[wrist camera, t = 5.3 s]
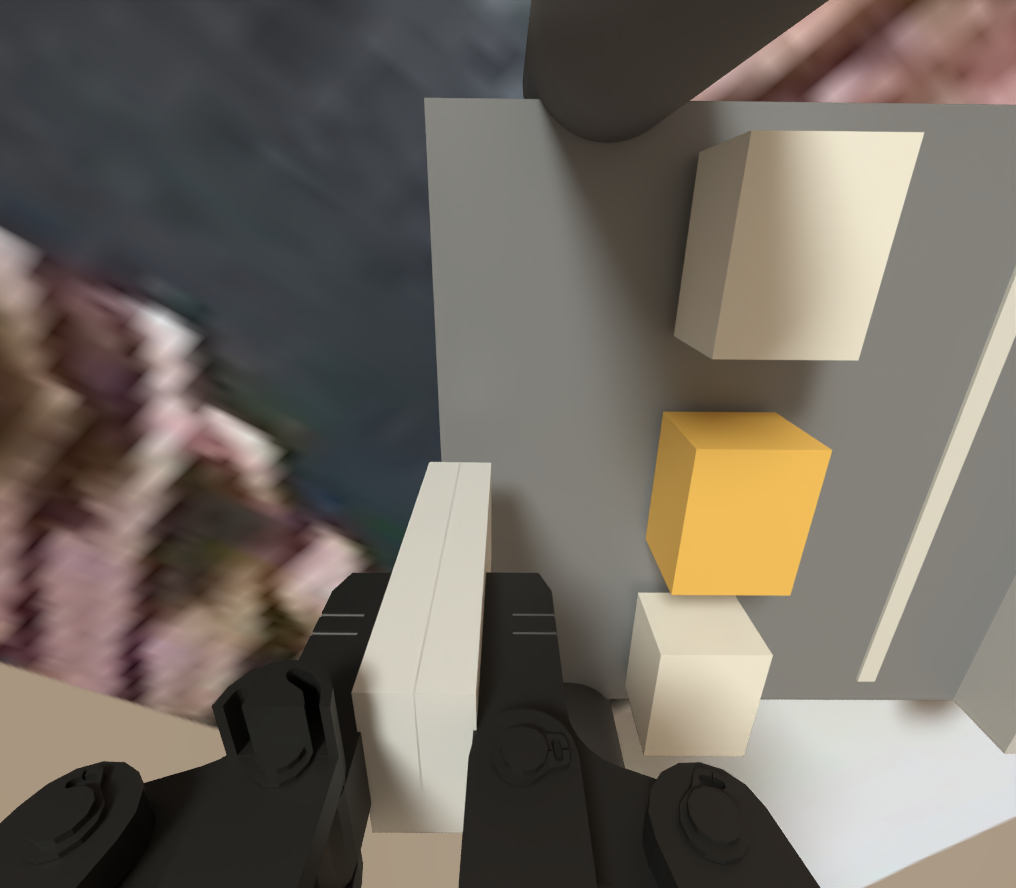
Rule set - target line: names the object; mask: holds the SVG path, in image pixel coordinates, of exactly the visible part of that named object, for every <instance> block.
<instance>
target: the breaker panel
mask: <svg viewBox="0 0 1016 888" xmlns="http://www.w3.org/2000/svg"><path fill="white" fill-rule="evenodd" d="M424 103H425V124H426V145H427V166H428V187H429V208H430V229H431V250H432V271H433V291H434V312H435V333H436V354H437V375H438V396H439V417H440V438H441V459H442V462H478V463H491V572H500V573H539V574H540V576H541V577H542V578H543V580H544V581H545V582H546V584H547V585H548V587H549V588H550V589H551V591H552V597H553V605H554V615H555V620H556V628H557V636H558V644H559V652H560V660H561V668H562V676H563V683H577V684H582V685H585V686H588V687H591V688H593V689H595V690H597V691H598V692H599V693H601V694H602V695H603V696H604V697H605V698H606V699H628V695H627V691H626V687H625V683H626V676H627V668H628V661H629V654H630V647H631V640H632V632H633V625H634V618H635V611H636V604H637V597H638V593H670V591H669V589H668V587H667V584H666V582H665V580H664V578H663V576H662V573H661V571H660V569H659V567H658V565H657V563H656V560H655V558H654V556H653V554H652V552H651V549H650V547H649V545H648V543H647V541H646V532H647V525H648V517H649V510H650V503H651V496H652V489H653V482H654V474H655V467H656V460H657V453H658V446H659V438H660V431H661V424H662V417H663V412H776V413H777V414H779V415H780V416H782V417H783V418H785V419H786V420H788V421H789V422H791V423H792V424H794V425H795V426H797V427H798V428H800V429H801V430H803V431H804V432H806V433H807V434H809V435H810V436H812V437H813V438H815V439H816V440H818V441H819V442H821V443H822V444H824V445H825V446H827V447H828V448H830V449H831V450H832V453H831V457H830V460H829V464H828V467H827V470H826V474H825V477H824V481H823V484H822V488H821V491H820V495H819V498H818V502H817V505H816V508H815V512H814V515H813V519H812V522H811V526H810V529H809V533H808V536H807V540H806V543H805V546H804V550H803V553H802V557H801V560H800V564H799V567H798V571H797V574H796V578H795V581H794V584H793V588H792V591H791V595H790V596H774V595H735V596H736V598H737V599H738V601H739V603H740V604H741V606H742V607H743V609H744V611H745V612H746V614H747V615H748V617H749V618H750V620H751V622H752V623H753V625H754V626H755V628H756V629H757V631H758V633H759V634H760V636H761V637H762V639H763V641H764V642H765V644H766V645H767V647H768V648H769V650H770V652H771V653H772V655H773V657H772V660H771V664H770V667H769V671H768V674H767V678H766V681H765V685H764V688H763V691H762V695H761V698H760V699H795V700H953V701H954V702H955V703H956V704H957V705H958V706H959V707H960V708H961V709H962V710H963V711H964V712H965V713H966V714H967V715H968V716H969V717H970V718H971V719H972V720H973V722H974V723H975V724H976V725H977V726H978V727H979V728H980V729H981V730H982V731H983V732H984V733H985V734H986V735H987V736H988V737H989V738H990V739H991V740H992V741H993V742H994V743H995V744H996V746H997V747H998V748H999V749H1000V750H1001V751H1002V752H1003V753H1004V754H1016V105H986V104H902V103H818V102H734V101H688V102H687V103H686V104H684V105H683V106H682V107H680V108H679V109H677V110H676V111H675V112H673V113H672V114H670V115H669V116H668V117H666V118H665V119H664V120H662V121H661V122H659V123H658V124H657V125H655V126H654V127H652V128H651V129H650V130H648V131H646V132H645V133H643V134H641V135H639V136H637V137H634V138H631V139H629V140H625V141H620V142H612V143H602V142H594V141H590V140H586V139H583V138H581V137H579V136H576V135H574V134H573V133H571V132H569V131H568V130H566V129H565V128H564V127H563V126H561V125H560V124H559V123H558V122H557V121H556V120H555V119H554V118H553V117H552V116H551V115H550V113H549V112H548V110H547V109H546V108H545V106H544V105H543V103H542V101H541V99H482V98H424ZM751 130H774V131H861V132H924V136H923V139H922V142H921V146H920V149H919V153H918V156H917V160H916V163H915V167H914V170H913V173H912V177H911V180H910V184H909V187H908V191H907V194H906V198H905V201H904V205H903V208H902V211H901V215H900V218H899V222H898V225H897V229H896V232H895V236H894V239H893V243H892V246H891V249H890V253H889V256H888V260H887V263H886V267H885V270H884V274H883V277H882V281H881V284H880V287H879V291H878V294H877V298H876V301H875V305H874V308H873V312H872V315H871V319H870V322H869V325H868V329H867V332H866V336H865V339H864V343H863V346H862V350H861V353H860V357H859V360H858V361H857V360H732V359H711V358H709V357H707V356H706V355H704V354H702V353H701V352H699V351H698V350H696V349H694V348H693V347H691V346H689V345H688V344H686V343H684V342H683V341H681V340H679V339H678V338H676V337H675V336H674V331H675V323H676V316H677V309H678V302H679V295H680V287H681V280H682V273H683V266H684V259H685V252H686V244H687V237H688V230H689V223H690V216H691V208H692V201H693V194H694V187H695V180H696V172H697V165H698V158H699V152H701V151H703V150H706V149H708V148H710V147H713V146H715V145H718V144H720V143H722V142H725V141H727V140H729V139H732V138H734V137H737V136H739V135H741V134H744V133H746V132H749V131H751Z"/></svg>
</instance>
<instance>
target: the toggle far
mask: <svg viewBox="0 0 1016 888" xmlns="http://www.w3.org/2000/svg"><path fill="white" fill-rule="evenodd" d="M772 657H773V655H772V653H771V652H770V650H769V648H768V647H767V645H766V644H765V642H764V641H763V639H762V637H761V636H760V634H759V633H758V631H757V629H756V628H755V626H754V625H753V623H752V622H751V620H750V618H749V617H748V615H747V614H746V612H745V611H744V609H743V607H742V606H741V604H740V603H739V601H738V599H737V598H736V596H735V595H671V593H638V597H637V604H636V611H635V618H634V625H633V632H632V640H631V647H630V654H629V661H628V668H627V676H626V683H625V687H626V691H627V695H628V699H629V702H630V706H631V710H632V714H633V717H634V721H635V725H636V729H637V733H638V736H639V740H640V744H641V748H642V752H643V755H644V756H744V754H745V750H746V747H747V743H748V740H749V736H750V733H751V729H752V726H753V723H754V719H755V716H756V712H757V709H758V705H759V702H760V698H761V695H762V691H763V688H764V685H765V681H766V678H767V674H768V671H769V667H770V664H771V660H772Z"/></svg>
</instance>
